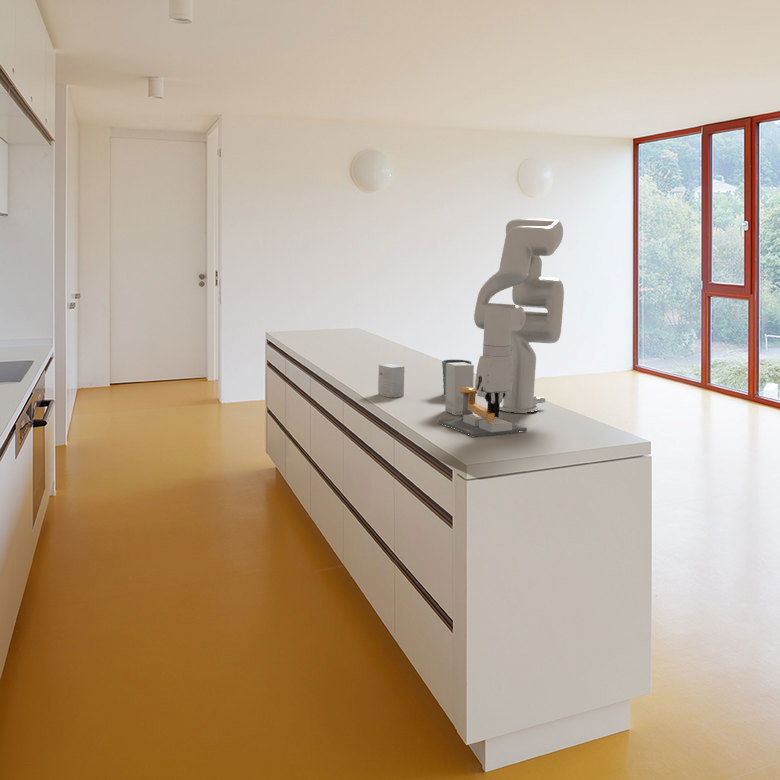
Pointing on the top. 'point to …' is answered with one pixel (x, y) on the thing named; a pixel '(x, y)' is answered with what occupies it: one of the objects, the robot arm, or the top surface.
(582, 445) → the top surface
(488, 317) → the robot arm
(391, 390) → the small box
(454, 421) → the sled board
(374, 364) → the top surface
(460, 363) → the skincare box
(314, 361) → the top surface
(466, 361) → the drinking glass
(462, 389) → the orange crank handle
